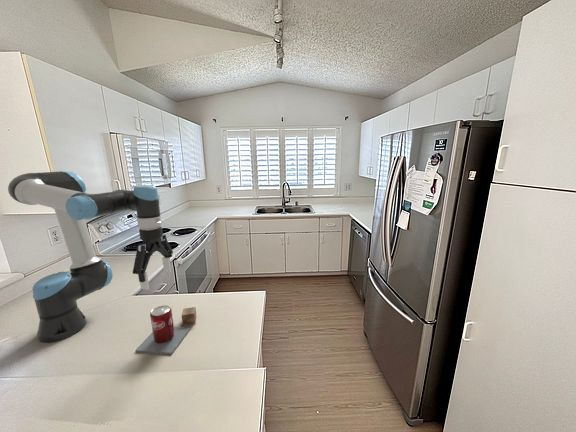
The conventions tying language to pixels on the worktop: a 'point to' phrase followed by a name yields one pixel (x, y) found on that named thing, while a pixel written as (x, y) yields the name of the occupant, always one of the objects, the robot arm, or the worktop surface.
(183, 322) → the walnut block
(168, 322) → the soda can
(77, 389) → the worktop surface
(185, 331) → the coaster
